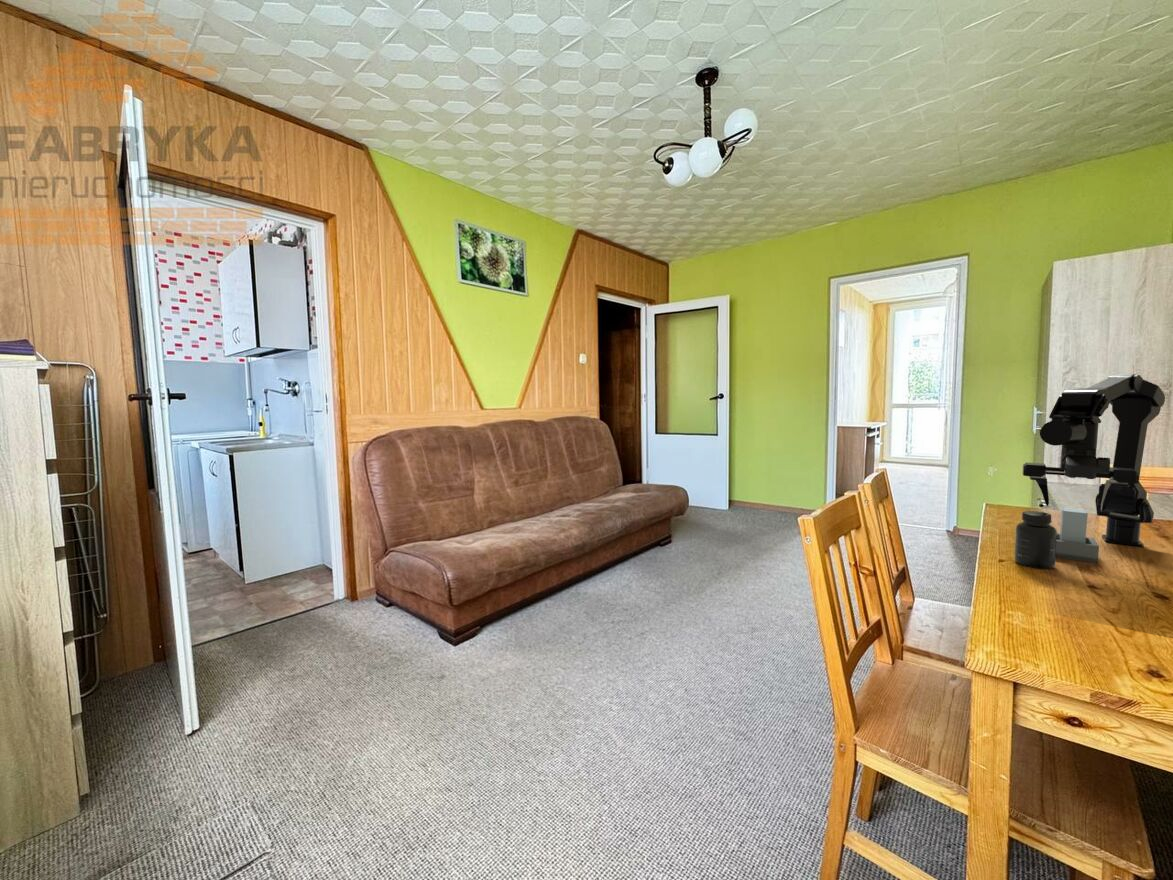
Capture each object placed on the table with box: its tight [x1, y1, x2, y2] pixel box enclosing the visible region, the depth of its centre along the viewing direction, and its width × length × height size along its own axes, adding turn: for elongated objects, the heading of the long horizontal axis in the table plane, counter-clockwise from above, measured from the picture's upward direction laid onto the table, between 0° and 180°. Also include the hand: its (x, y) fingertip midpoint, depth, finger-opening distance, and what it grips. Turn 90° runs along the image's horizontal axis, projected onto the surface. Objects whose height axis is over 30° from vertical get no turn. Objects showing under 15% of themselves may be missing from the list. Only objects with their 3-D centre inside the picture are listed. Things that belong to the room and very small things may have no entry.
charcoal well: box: [1056, 533, 1100, 564], centre depth 113 cm, size 8×8×4 cm
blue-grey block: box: [1059, 507, 1088, 543], centre depth 113 cm, size 4×4×10 cm
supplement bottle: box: [1014, 510, 1058, 570], centre depth 108 cm, size 7×7×12 cm
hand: (1074, 508), depth 112 cm, fingers open, 9 cm apart
